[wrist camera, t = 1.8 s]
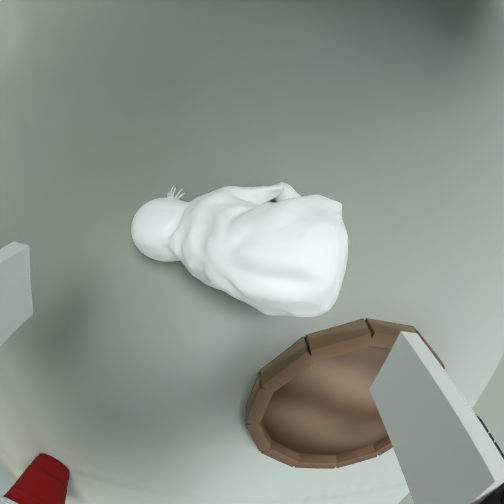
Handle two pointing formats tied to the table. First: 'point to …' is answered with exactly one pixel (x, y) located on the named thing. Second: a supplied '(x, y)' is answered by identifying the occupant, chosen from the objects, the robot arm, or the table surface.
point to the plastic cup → (40, 483)
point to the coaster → (324, 397)
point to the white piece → (253, 245)
